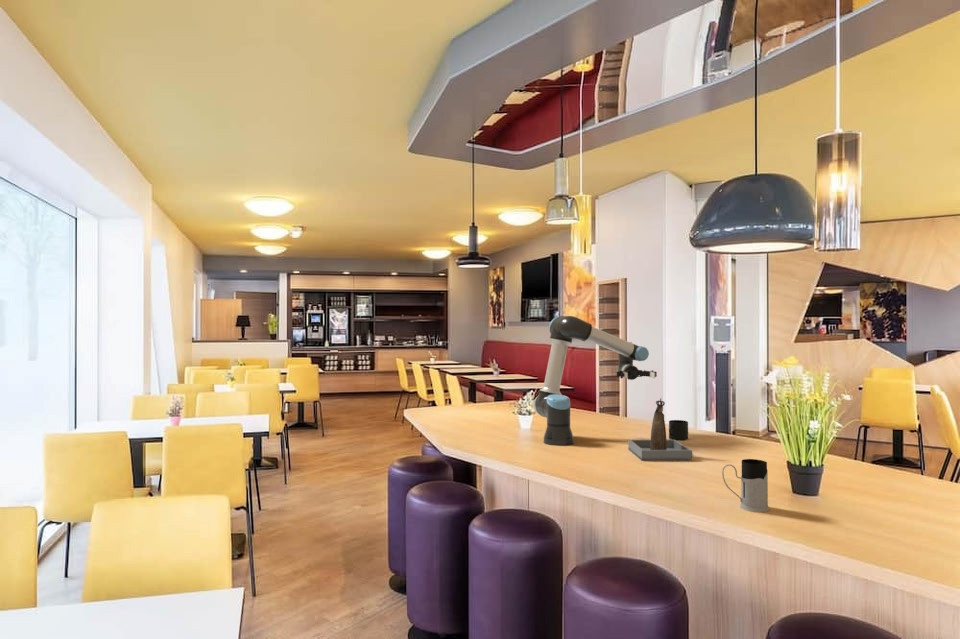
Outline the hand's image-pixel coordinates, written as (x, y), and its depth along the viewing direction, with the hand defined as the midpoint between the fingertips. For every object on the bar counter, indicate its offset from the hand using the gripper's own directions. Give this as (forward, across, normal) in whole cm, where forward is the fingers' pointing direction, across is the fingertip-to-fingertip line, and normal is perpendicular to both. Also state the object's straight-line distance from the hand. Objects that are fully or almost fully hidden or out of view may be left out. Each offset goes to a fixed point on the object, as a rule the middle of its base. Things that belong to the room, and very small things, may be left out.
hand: (640, 375), depth 299 cm
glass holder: (+103, -7, -34) cm, 108 cm away
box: (+24, -2, -34) cm, 41 cm away
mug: (-13, -22, -34) cm, 43 cm away
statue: (+24, -2, -33) cm, 41 cm away
